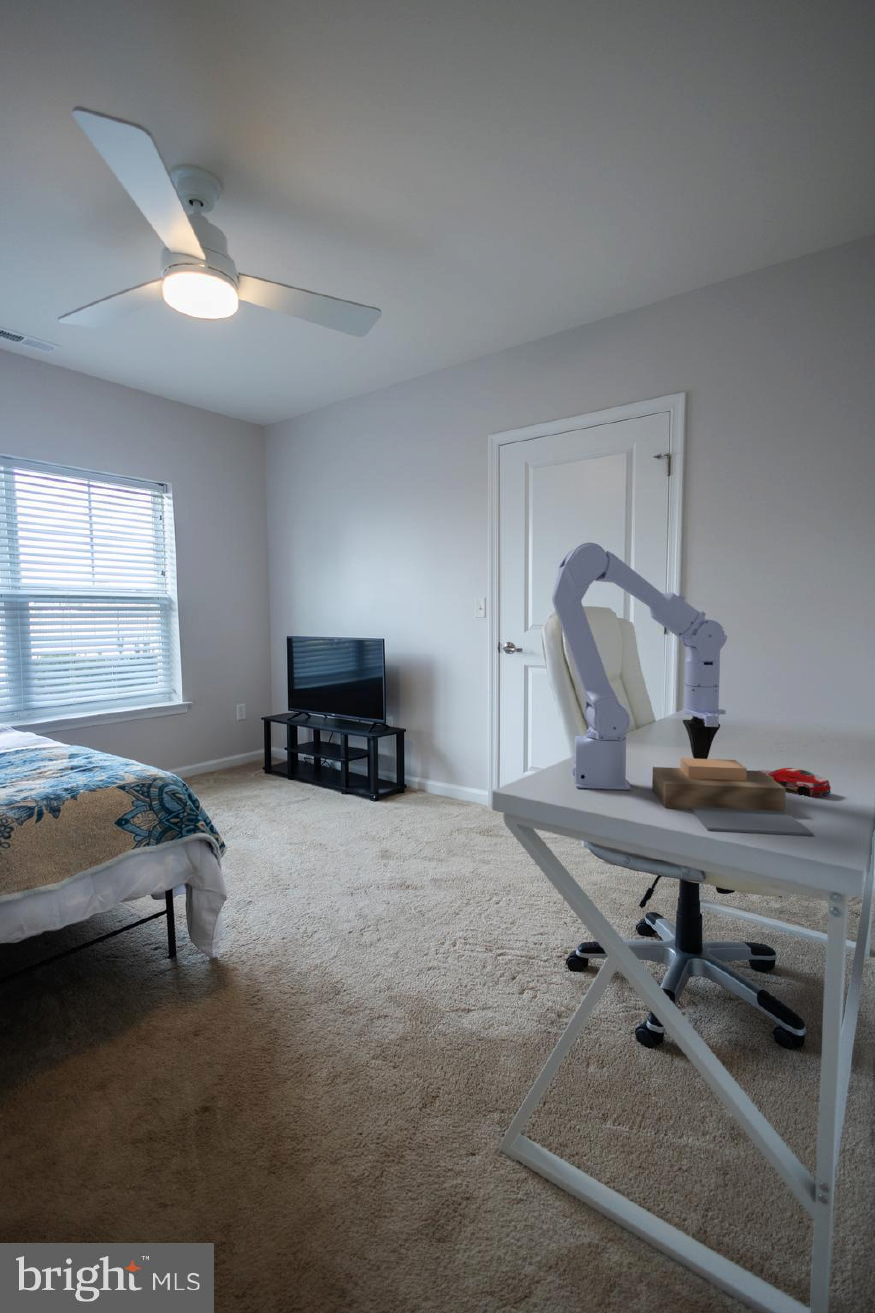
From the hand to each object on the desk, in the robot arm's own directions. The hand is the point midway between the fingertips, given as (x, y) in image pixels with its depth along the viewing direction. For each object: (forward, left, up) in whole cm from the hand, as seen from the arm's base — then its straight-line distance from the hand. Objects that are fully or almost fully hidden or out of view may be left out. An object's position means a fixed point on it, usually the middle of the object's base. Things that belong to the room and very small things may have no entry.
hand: (700, 759), depth 111 cm
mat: (+2, -20, -5) cm, 21 cm away
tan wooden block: (0, -8, -1) cm, 8 cm away
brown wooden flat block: (0, -9, -5) cm, 11 cm away
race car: (+15, 0, -5) cm, 16 cm away
